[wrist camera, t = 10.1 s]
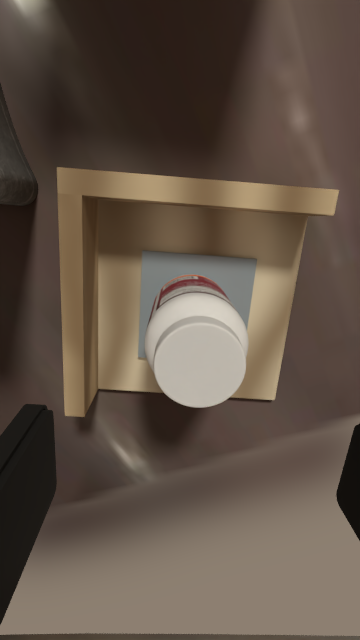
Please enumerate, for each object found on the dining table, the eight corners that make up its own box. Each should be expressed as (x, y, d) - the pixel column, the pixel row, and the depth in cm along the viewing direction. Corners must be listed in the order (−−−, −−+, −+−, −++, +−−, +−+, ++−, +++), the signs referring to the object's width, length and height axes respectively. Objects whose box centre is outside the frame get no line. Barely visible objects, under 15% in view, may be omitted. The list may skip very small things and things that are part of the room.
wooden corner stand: (83, 384, 30) (64, 415, 25) (80, 177, 25) (56, 166, 20) (272, 396, 30) (290, 429, 25) (308, 195, 25) (339, 190, 20)
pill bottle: (202, 358, 28) (216, 441, 17) (139, 322, 27) (114, 387, 16) (243, 298, 26) (286, 349, 16) (178, 257, 25) (178, 283, 15)
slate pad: (138, 355, 28) (138, 357, 28) (142, 250, 26) (142, 250, 25) (241, 362, 29) (242, 364, 28) (255, 258, 26) (257, 259, 26)
